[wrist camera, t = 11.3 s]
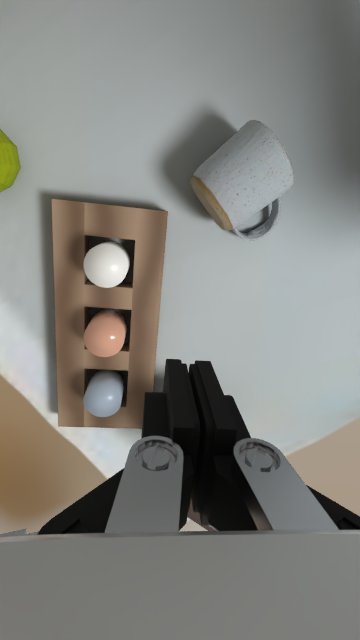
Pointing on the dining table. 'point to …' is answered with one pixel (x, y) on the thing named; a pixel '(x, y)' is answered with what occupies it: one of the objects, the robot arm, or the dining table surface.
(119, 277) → the white egg
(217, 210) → the ceramic mug
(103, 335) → the salmon domed cylinder
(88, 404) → the blue egg
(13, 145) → the fruit
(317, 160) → the dining table surface
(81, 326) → the walnut board
